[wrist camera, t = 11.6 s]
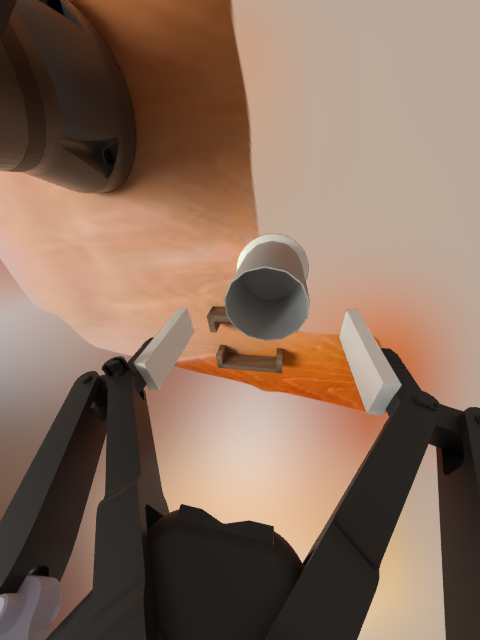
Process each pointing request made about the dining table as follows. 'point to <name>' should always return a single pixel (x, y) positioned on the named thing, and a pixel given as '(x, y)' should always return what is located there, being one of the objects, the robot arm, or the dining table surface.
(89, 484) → the robot arm
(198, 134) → the dining table surface
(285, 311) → the cup
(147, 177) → the dining table surface
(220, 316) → the pocket holder
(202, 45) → the dining table surface
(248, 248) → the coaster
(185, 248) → the dining table surface
